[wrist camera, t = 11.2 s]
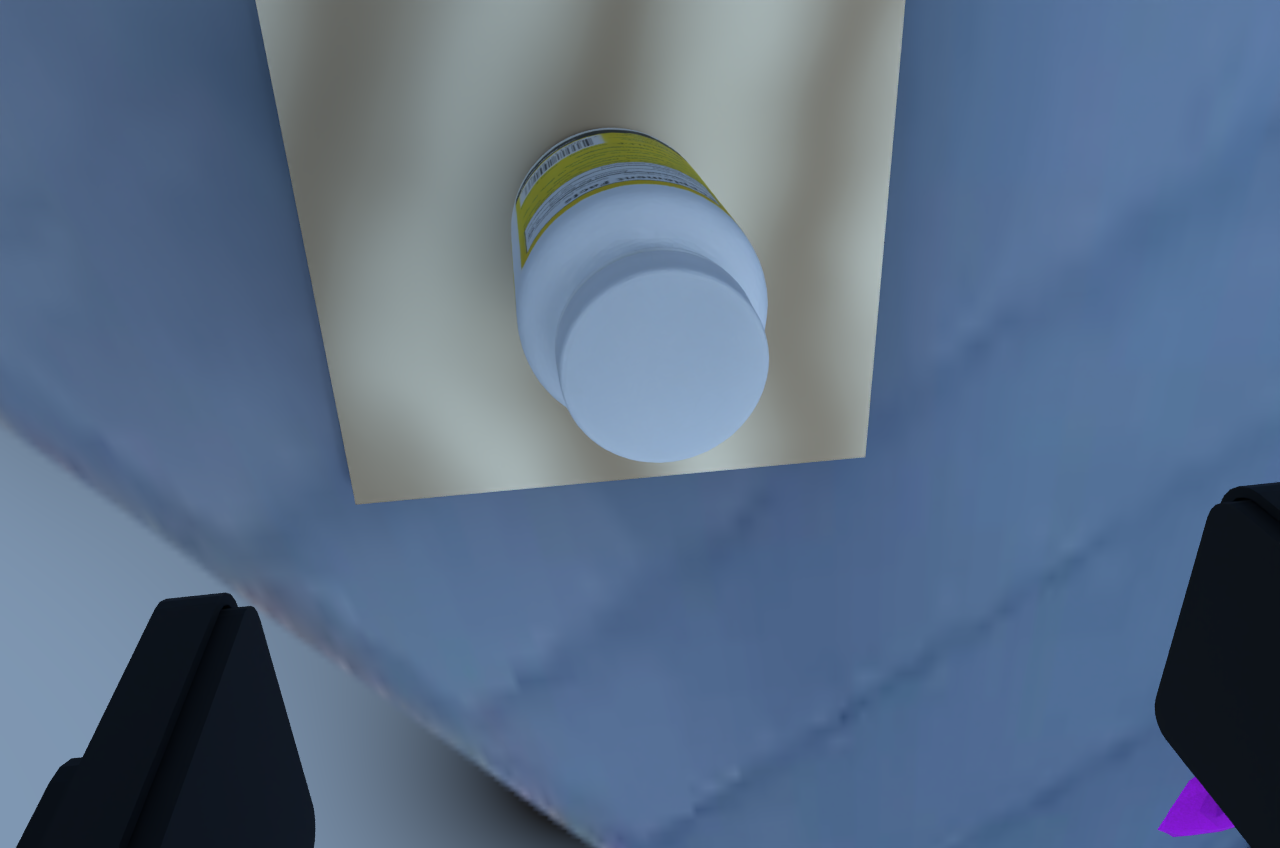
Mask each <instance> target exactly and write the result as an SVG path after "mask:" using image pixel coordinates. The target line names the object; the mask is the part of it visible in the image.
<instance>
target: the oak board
mask: <svg viewBox="0 0 1280 848" xmlns="http://www.w3.org/2000/svg"><path fill="white" fill-rule="evenodd" d="M255 1H256V6H257V11H258V16H259V21H260V26H261V31H262V36H263V41H264V46H265V51H266V56H267V61H268V66H269V71H270V76H271V81H272V86H273V91H274V96H275V101H276V106H277V112H278V117H279V122H280V127H281V132H282V137H283V142H284V147H285V152H286V157H287V162H288V167H289V172H290V177H291V182H292V187H293V192H294V197H295V202H296V207H297V212H298V217H299V222H300V227H301V232H302V237H303V242H304V247H305V252H306V257H307V262H308V267H309V272H310V277H311V282H312V287H313V292H314V297H315V302H316V307H317V312H318V317H319V322H320V328H321V333H322V338H323V343H324V348H325V353H326V358H327V363H328V368H329V373H330V378H331V383H332V388H333V393H334V398H335V403H336V408H337V413H338V418H339V423H340V428H341V433H342V438H343V443H344V448H345V453H346V458H347V463H348V468H349V473H350V478H351V483H352V488H353V493H354V498H355V503H356V504H367V503H377V502H388V501H399V500H410V499H420V498H431V497H442V496H452V495H463V494H474V493H485V492H495V491H506V490H517V489H528V488H538V487H549V486H560V485H571V484H581V483H592V482H603V481H614V480H624V479H635V478H646V477H656V476H667V475H678V474H689V473H699V472H710V471H721V470H732V469H742V468H753V467H764V466H775V465H785V464H796V463H807V462H817V461H828V460H839V459H850V458H860V457H865V453H866V442H867V430H868V419H869V408H870V396H871V385H872V374H873V362H874V351H875V339H876V328H877V317H878V305H879V294H880V283H881V271H882V260H883V249H884V237H885V226H886V214H887V203H888V192H889V180H890V169H891V158H892V146H893V135H894V124H895V112H896V101H897V89H898V78H899V67H900V55H901V44H902V33H903V21H904V10H905V0H255ZM598 128H622V129H630V130H635V131H639V132H642V133H645V134H648V135H650V136H652V137H655V138H657V139H658V140H660V141H662V142H664V143H665V144H667V145H668V146H670V147H671V148H673V149H674V150H675V151H676V152H678V153H679V154H680V155H681V156H682V157H683V158H684V159H685V160H686V161H687V162H688V163H689V164H690V166H691V167H692V168H693V169H694V170H695V171H696V173H697V174H698V175H699V176H700V177H701V179H702V180H703V181H704V183H705V184H706V185H707V186H708V188H709V189H710V190H711V192H712V193H713V194H714V195H715V197H716V198H717V199H718V200H719V202H720V203H721V204H722V205H723V207H724V208H725V209H726V210H727V212H728V213H729V214H730V215H731V217H732V218H733V219H734V220H735V222H736V223H737V224H738V225H739V227H740V228H741V229H742V230H743V232H744V234H745V235H746V237H747V238H748V240H749V242H750V243H751V245H752V247H753V248H754V251H755V253H756V255H757V257H758V259H759V261H760V264H761V267H762V270H763V273H764V278H765V283H766V287H767V299H768V308H767V320H766V326H765V334H766V338H767V343H768V350H769V368H768V374H767V379H766V383H765V386H764V390H763V392H762V395H761V397H760V399H759V402H758V403H757V405H756V407H755V408H754V410H753V412H752V413H751V415H750V416H749V417H748V419H747V420H746V421H745V422H744V424H743V425H742V426H741V427H740V428H739V429H738V430H737V431H736V432H735V433H734V434H733V435H732V436H730V437H729V438H728V439H726V440H725V441H724V442H722V443H721V444H719V445H718V446H716V447H714V448H712V449H710V450H709V451H707V452H704V453H702V454H699V455H697V456H694V457H691V458H688V459H684V460H680V461H674V462H664V463H653V462H641V461H635V460H631V459H627V458H624V457H621V456H618V455H616V454H614V453H612V452H610V451H607V450H605V449H604V448H602V447H601V446H599V445H598V444H596V443H595V442H594V441H592V440H591V439H590V438H589V437H588V436H587V435H586V434H585V433H584V432H583V431H582V430H581V429H580V428H579V426H578V425H577V424H576V422H575V421H574V419H573V418H572V416H571V414H570V412H569V411H568V409H567V408H566V407H565V406H564V405H562V404H561V403H560V402H558V401H557V400H556V399H555V398H554V397H553V396H552V395H551V394H550V393H549V392H548V391H547V390H546V389H545V388H544V387H543V385H542V384H541V383H540V382H539V380H538V379H537V377H536V376H535V374H534V373H533V371H532V369H531V367H530V365H529V363H528V361H527V359H526V356H525V354H524V351H523V349H522V345H521V341H520V337H519V332H518V327H517V318H516V305H515V292H514V277H513V264H512V250H511V219H512V212H513V207H514V203H515V199H516V196H517V193H518V191H519V188H520V186H521V184H522V182H523V180H524V178H525V177H526V175H527V173H528V172H529V170H530V169H531V168H532V166H533V165H534V164H535V163H536V162H537V161H538V159H539V158H540V157H541V156H542V155H544V154H545V153H546V152H547V151H548V150H549V149H551V148H552V147H553V146H555V145H556V144H558V143H559V142H561V141H563V140H565V139H567V138H568V137H570V136H573V135H576V134H578V133H581V132H584V131H588V130H593V129H598Z"/></svg>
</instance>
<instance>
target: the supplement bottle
mask: <svg viewBox="0 0 1280 848" xmlns="http://www.w3.org/2000/svg"><path fill="white" fill-rule="evenodd" d="M511 250H512V264H513V277H514V292H515V305H516V318H517V327H518V332H519V337H520V341H521V345H522V349H523V351H524V354H525V356H526V359H527V361H528V363H529V365H530V367H531V369H532V371H533V373H534V374H535V376H536V377H537V379H538V380H539V382H540V383H541V384H542V385H543V387H544V388H545V389H546V390H547V391H548V392H549V393H550V394H551V395H552V396H553V397H554V398H555V399H556V400H557V401H558V402H560V403H561V404H562V405H564V406H565V407H566V408H567V409H568V411H569V412H570V414H571V416H572V418H573V419H574V421H575V422H576V424H577V425H578V426H579V428H580V429H581V430H582V431H583V432H584V433H585V434H586V435H587V436H588V437H589V438H590V439H591V440H592V441H594V442H595V443H596V444H598V445H599V446H601V447H602V448H604V449H605V450H607V451H610V452H612V453H614V454H616V455H618V456H621V457H624V458H627V459H631V460H635V461H641V462H653V463H664V462H674V461H680V460H684V459H688V458H691V457H694V456H697V455H699V454H702V453H704V452H707V451H709V450H710V449H712V448H714V447H716V446H718V445H719V444H721V443H722V442H724V441H725V440H726V439H728V438H729V437H730V436H732V435H733V434H734V433H735V432H736V431H737V430H738V429H739V428H740V427H741V426H742V425H743V424H744V422H745V421H746V420H747V419H748V417H749V416H750V415H751V413H752V412H753V410H754V408H755V407H756V405H757V403H758V402H759V399H760V397H761V395H762V392H763V390H764V386H765V383H766V379H767V374H768V368H769V350H768V343H767V338H766V334H765V326H766V320H767V308H768V299H767V287H766V283H765V278H764V273H763V270H762V267H761V264H760V261H759V259H758V257H757V255H756V253H755V251H754V248H753V247H752V245H751V243H750V242H749V240H748V238H747V237H746V235H745V234H744V232H743V230H742V229H741V228H740V227H739V225H738V224H737V223H736V222H735V220H734V219H733V218H732V217H731V215H730V214H729V213H728V212H727V210H726V209H725V208H724V207H723V205H722V204H721V203H720V202H719V200H718V199H717V198H716V197H715V195H714V194H713V193H712V192H711V190H710V189H709V188H708V186H707V185H706V184H705V183H704V181H703V180H702V179H701V177H700V176H699V175H698V174H697V173H696V171H695V170H694V169H693V168H692V167H691V166H690V164H689V163H688V162H687V161H686V160H685V159H684V158H683V157H682V156H681V155H680V154H679V153H678V152H676V151H675V150H674V149H673V148H671V147H670V146H668V145H667V144H665V143H664V142H662V141H660V140H658V139H657V138H655V137H652V136H650V135H648V134H645V133H642V132H639V131H635V130H630V129H622V128H598V129H593V130H588V131H584V132H581V133H578V134H576V135H573V136H570V137H568V138H567V139H565V140H563V141H561V142H559V143H558V144H556V145H555V146H553V147H552V148H551V149H549V150H548V151H547V152H546V153H545V154H544V155H542V156H541V157H540V158H539V159H538V161H537V162H536V163H535V164H534V165H533V166H532V168H531V169H530V170H529V172H528V173H527V175H526V177H525V178H524V180H523V182H522V184H521V186H520V188H519V191H518V193H517V196H516V199H515V203H514V207H513V212H512V219H511Z"/></svg>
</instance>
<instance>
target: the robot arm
mask: <svg viewBox="0 0 1280 848" xmlns="http://www.w3.org/2000/svg"><path fill="white" fill-rule="evenodd" d="M1155 715H1156V719H1157V723H1158V726H1159V728H1160V730H1161V733H1162V734H1163V736H1164V737H1165V739H1166V740H1167V741H1168V743H1169V744H1170V745H1171V747H1172V748H1173V749H1174V750H1175V752H1176V753H1177V754H1178V755H1179V757H1180V758H1181V759H1182V760H1183V762H1184V763H1185V764H1186V765H1187V767H1188V768H1189V769H1190V771H1191V772H1192V773H1193V774H1194V776H1195V777H1196V778H1197V779H1198V781H1199V782H1200V783H1201V784H1202V786H1203V787H1204V788H1205V790H1206V791H1207V792H1208V793H1209V795H1210V796H1211V797H1212V798H1213V800H1214V801H1215V802H1216V803H1217V805H1218V806H1219V807H1220V809H1221V810H1222V811H1223V812H1224V814H1225V815H1226V816H1227V817H1228V819H1229V820H1230V821H1231V822H1232V824H1233V825H1234V826H1235V828H1236V829H1237V830H1238V831H1239V833H1240V834H1241V835H1242V836H1243V838H1244V839H1245V840H1246V841H1247V843H1248V844H1249V845H1250V846H1251V848H1280V482H1277V483H1267V484H1258V485H1248V486H1239V487H1236V488H1233V489H1230V490H1229V491H1228V492H1227V493H1226V494H1225V495H1224V497H1223V499H1222V501H1221V503H1220V504H1217V505H1215V506H1214V507H1213V508H1212V509H1211V511H1210V513H1209V515H1208V517H1207V521H1206V524H1205V528H1204V531H1203V535H1202V538H1201V542H1200V545H1199V549H1198V552H1197V556H1196V559H1195V563H1194V566H1193V570H1192V573H1191V577H1190V580H1189V584H1188V587H1187V591H1186V594H1185V598H1184V601H1183V605H1182V608H1181V612H1180V615H1179V619H1178V622H1177V626H1176V629H1175V633H1174V636H1173V640H1172V643H1171V647H1170V650H1169V654H1168V657H1167V661H1166V664H1165V668H1164V671H1163V675H1162V678H1161V682H1160V685H1159V689H1158V692H1157V696H1156V700H1155ZM314 842H315V815H314V808H313V804H312V801H311V797H310V793H309V790H308V786H307V783H306V779H305V776H304V772H303V769H302V765H301V762H300V758H299V755H298V751H297V748H296V744H295V741H294V737H293V734H292V730H291V727H290V723H289V719H288V716H287V712H286V709H285V705H284V702H283V698H282V695H281V691H280V688H279V684H278V681H277V678H276V674H275V670H274V667H273V663H272V660H271V656H270V653H269V649H268V646H267V642H266V639H265V635H264V632H263V628H262V625H261V621H260V618H259V615H258V613H257V611H256V609H255V608H254V607H252V606H246V607H238V606H237V603H236V601H235V599H234V598H233V597H232V595H231V594H228V593H218V594H208V595H200V596H190V597H181V598H171V599H165V600H163V601H161V602H160V603H159V604H158V605H157V607H156V608H155V610H154V612H153V614H152V616H151V618H150V620H149V622H148V624H147V626H146V628H145V630H144V632H143V635H142V636H141V639H140V641H139V643H138V645H137V647H136V649H135V651H134V653H133V655H132V657H131V659H130V661H129V663H128V665H127V667H126V669H125V672H124V673H123V675H122V678H121V680H120V682H119V684H118V686H117V688H116V690H115V692H114V694H113V696H112V698H111V700H110V702H109V704H108V706H107V708H106V710H105V712H104V715H103V716H102V718H101V721H100V723H99V725H98V727H97V729H96V731H95V733H94V735H93V737H92V739H91V741H90V743H89V745H88V747H87V749H86V751H85V754H84V755H83V757H81V758H72V759H70V760H69V761H68V762H66V763H65V764H63V765H62V766H61V767H60V768H59V769H58V771H57V772H56V774H55V775H54V777H53V778H52V780H51V781H50V783H49V784H48V786H47V788H46V790H45V792H44V794H43V796H42V798H41V800H40V802H39V804H38V806H37V808H36V810H35V812H34V814H33V816H32V818H31V819H30V821H29V823H28V825H27V827H26V829H25V831H24V833H23V835H22V837H21V839H20V841H19V843H18V845H17V847H16V848H314Z"/></svg>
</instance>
